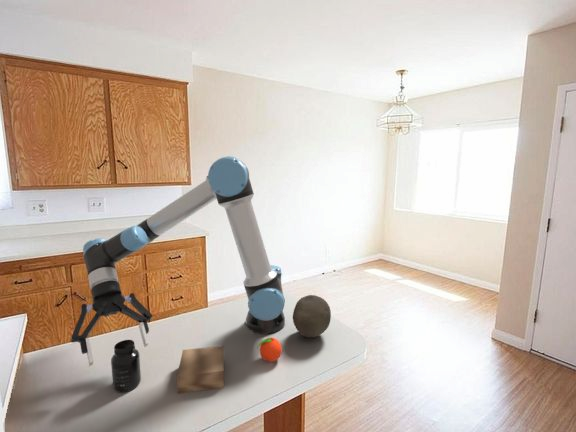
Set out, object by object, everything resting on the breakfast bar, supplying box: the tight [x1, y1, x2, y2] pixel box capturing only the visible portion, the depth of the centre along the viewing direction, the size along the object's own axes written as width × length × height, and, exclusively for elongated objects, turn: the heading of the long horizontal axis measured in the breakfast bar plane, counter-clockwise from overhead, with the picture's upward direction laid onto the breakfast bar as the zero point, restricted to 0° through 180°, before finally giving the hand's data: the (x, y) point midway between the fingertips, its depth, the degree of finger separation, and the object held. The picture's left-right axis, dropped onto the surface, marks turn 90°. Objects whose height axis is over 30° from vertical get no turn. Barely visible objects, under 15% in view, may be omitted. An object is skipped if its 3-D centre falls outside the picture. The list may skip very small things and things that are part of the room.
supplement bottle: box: [110, 339, 142, 393], centre depth 82 cm, size 7×7×12 cm
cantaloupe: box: [292, 294, 332, 338], centre depth 108 cm, size 14×14×15 cm
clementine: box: [257, 337, 283, 363], centre depth 95 cm, size 8×7×7 cm
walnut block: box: [176, 345, 225, 394], centre depth 87 cm, size 12×12×5 cm
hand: (120, 354), depth 83 cm, fingers open, 13 cm apart
